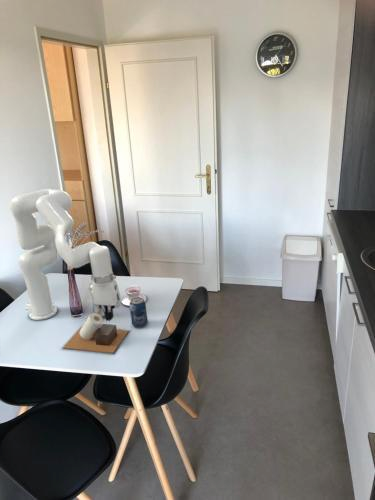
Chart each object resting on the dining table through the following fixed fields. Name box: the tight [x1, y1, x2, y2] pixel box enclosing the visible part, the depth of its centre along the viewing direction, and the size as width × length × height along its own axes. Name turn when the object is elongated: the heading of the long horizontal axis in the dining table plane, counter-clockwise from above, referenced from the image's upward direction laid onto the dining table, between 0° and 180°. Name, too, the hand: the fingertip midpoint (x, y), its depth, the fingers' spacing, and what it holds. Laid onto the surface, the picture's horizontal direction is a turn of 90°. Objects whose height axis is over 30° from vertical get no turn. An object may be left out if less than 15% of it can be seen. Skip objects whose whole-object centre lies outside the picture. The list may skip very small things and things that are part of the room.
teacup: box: [121, 285, 147, 307], centre depth 204 cm, size 12×12×6 cm
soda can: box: [129, 297, 149, 329], centre depth 181 cm, size 7×7×12 cm
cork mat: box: [62, 326, 129, 354], centre depth 174 cm, size 22×16×1 cm
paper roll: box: [80, 312, 104, 340], centre depth 172 cm, size 11×6×12 cm, turn 75°
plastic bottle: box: [88, 274, 105, 318], centre depth 190 cm, size 6×7×20 cm
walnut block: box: [94, 323, 118, 346], centre depth 172 cm, size 6×8×5 cm
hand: (109, 319), depth 169 cm, fingers closed
